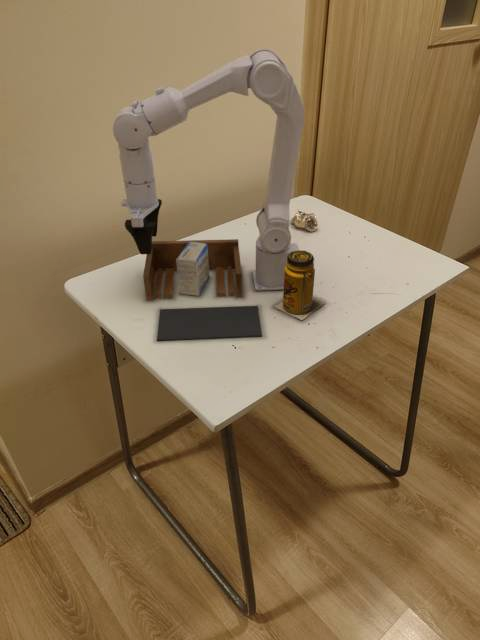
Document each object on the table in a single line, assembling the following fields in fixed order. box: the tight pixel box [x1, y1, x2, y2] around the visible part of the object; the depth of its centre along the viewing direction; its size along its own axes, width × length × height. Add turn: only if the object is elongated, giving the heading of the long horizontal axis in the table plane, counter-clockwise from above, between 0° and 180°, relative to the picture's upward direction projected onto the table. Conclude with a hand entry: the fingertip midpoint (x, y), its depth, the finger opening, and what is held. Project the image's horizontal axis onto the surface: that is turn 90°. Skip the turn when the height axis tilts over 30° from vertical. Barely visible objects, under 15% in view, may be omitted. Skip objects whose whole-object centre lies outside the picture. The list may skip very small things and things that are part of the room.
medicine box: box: [176, 242, 211, 297], centre depth 107 cm, size 8×4×9 cm, turn 168°
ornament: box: [290, 209, 319, 232], centre depth 132 cm, size 8×7×4 cm
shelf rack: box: [142, 238, 243, 302], centre depth 108 cm, size 20×13×7 cm, turn 96°
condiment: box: [274, 249, 327, 321], centre depth 101 cm, size 7×8×12 cm
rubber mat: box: [156, 305, 263, 342], centre depth 99 cm, size 20×10×1 cm, turn 96°
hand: (148, 244), depth 103 cm, fingers open, 7 cm apart
